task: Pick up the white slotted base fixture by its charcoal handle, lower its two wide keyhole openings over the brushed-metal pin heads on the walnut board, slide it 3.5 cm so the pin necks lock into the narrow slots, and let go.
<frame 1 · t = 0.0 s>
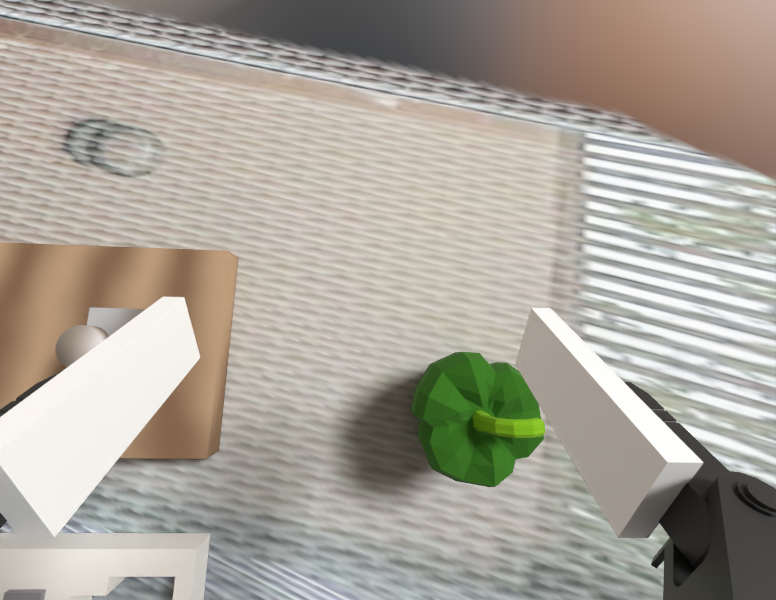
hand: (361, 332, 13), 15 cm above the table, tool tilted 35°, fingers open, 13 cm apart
pin board: (30, 344, 26), on the table
bell pepper: (452, 402, 27), on the table
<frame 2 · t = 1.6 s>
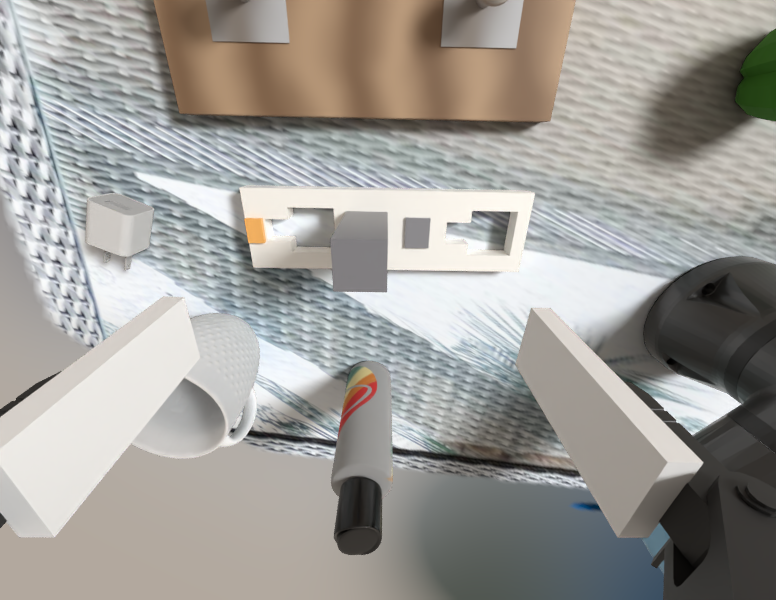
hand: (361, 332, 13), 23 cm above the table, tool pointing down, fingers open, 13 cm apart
pin board: (366, 5, 26), on the table
bell pepper: (763, 75, 28), on the table
mug: (234, 342, 41), on the table
lotion bottle: (369, 376, 43), on the table
white slotted base fixture: (368, 227, 34), on the table
usb wall charger: (135, 230, 34), on the table
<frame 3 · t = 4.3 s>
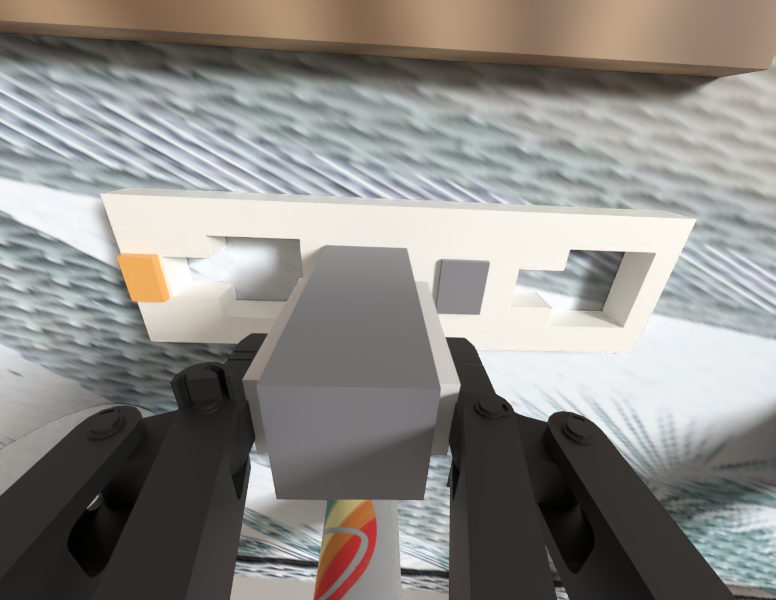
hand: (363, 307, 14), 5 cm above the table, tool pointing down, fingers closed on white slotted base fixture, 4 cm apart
mug: (143, 442, 25), on the table
lotion bottle: (363, 484, 28), on the table
white slotted base fixture: (367, 269, 19), on the table, touching gripper
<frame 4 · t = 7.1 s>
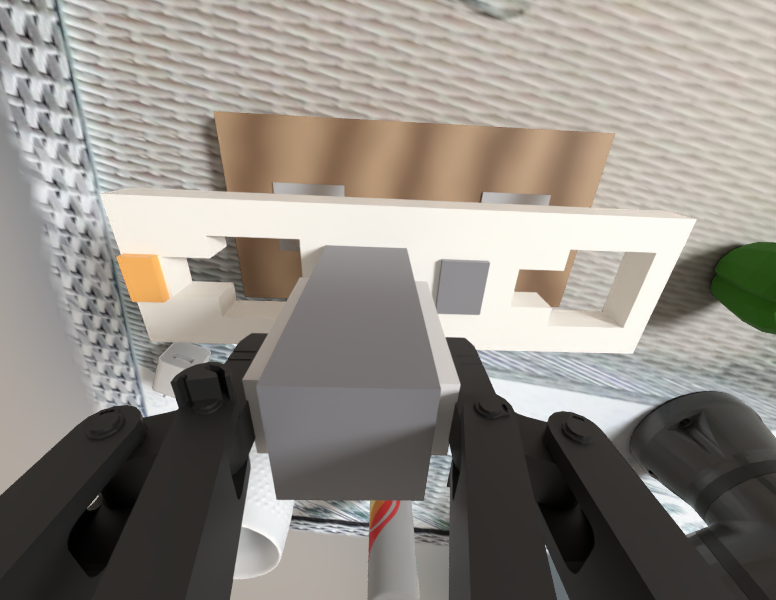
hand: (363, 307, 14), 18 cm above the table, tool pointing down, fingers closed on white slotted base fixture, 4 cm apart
pin board: (409, 218, 31), on the table
bell pepper: (733, 269, 34), on the table
mug: (270, 448, 45), on the table
lotion bottle: (389, 473, 48), on the table
white slotted base fixture: (367, 269, 19), point 14 cm above the table, touching gripper
usb wall charger: (190, 365, 39), on the table
when the fingers open (7 cm above the table, at t = 10.2 s): white slotted base fixture stays where it is, resting on pin board.
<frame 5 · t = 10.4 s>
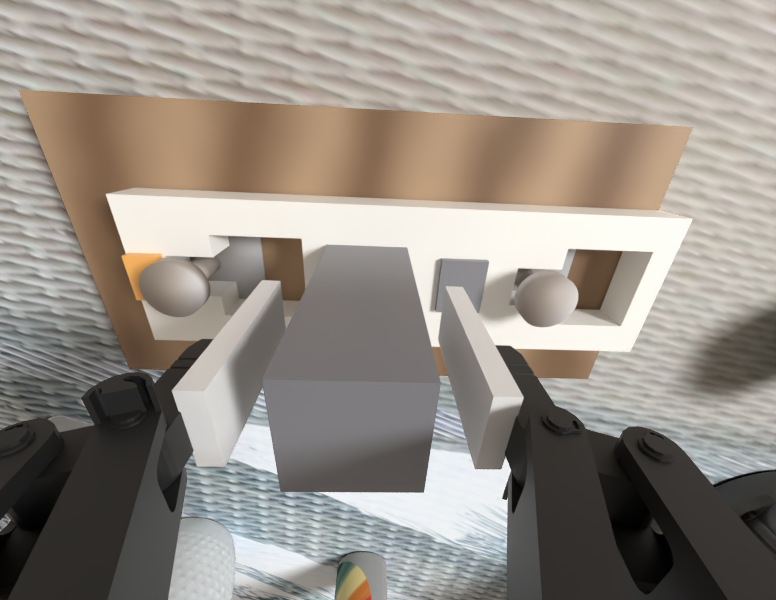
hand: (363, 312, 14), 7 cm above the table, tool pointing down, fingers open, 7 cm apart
pin board: (368, 255, 21), on the table
mug: (206, 537, 35), on the table
lotion bottle: (362, 561, 38), on the table
white slotted base fixture: (367, 268, 19), point 2 cm above the table, touching pin board
usb wall charger: (80, 444, 28), on the table
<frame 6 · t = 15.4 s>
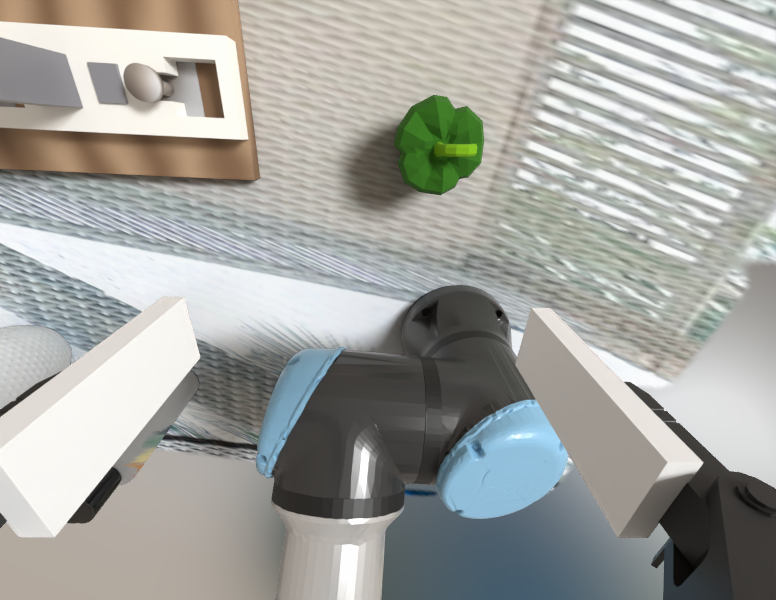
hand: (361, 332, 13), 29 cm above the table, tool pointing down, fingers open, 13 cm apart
pin board: (88, 86, 32), on the table
bell pepper: (428, 147, 36), on the table
mug: (53, 349, 47), on the table
lotion bottle: (181, 378, 50), on the table
white slotted base fixture: (70, 83, 31), point 2 cm above the table, touching pin board
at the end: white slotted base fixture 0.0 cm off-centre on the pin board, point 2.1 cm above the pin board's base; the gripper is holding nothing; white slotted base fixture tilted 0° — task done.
